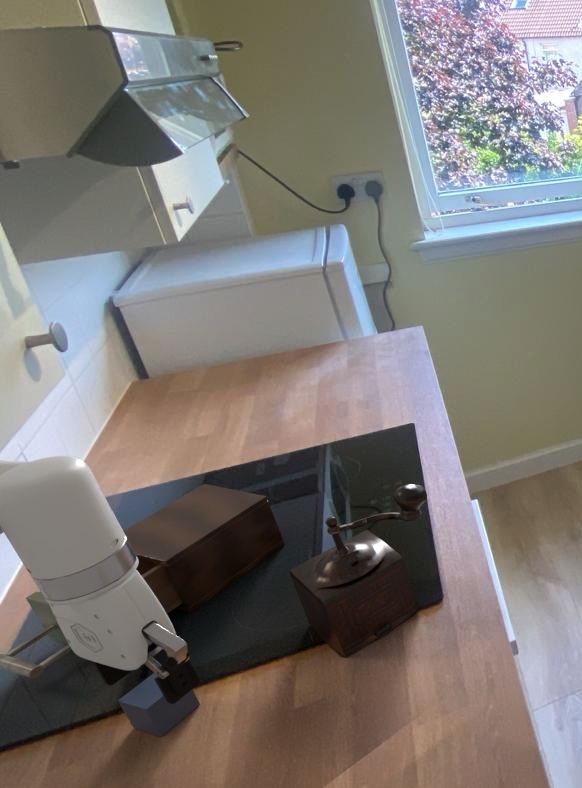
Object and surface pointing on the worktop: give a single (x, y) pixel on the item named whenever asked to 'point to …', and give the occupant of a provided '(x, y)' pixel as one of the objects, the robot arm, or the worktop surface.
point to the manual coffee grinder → (359, 581)
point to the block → (155, 708)
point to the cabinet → (207, 540)
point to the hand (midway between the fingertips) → (153, 683)
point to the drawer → (148, 570)
